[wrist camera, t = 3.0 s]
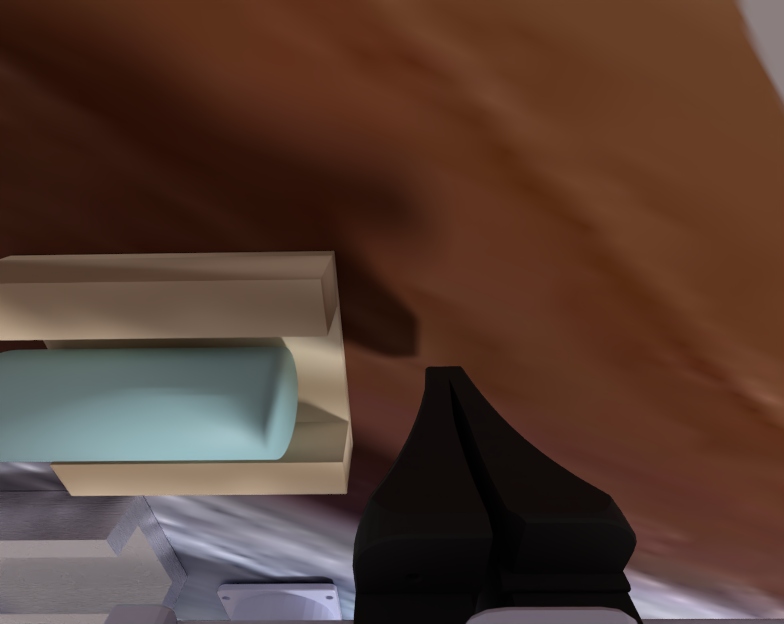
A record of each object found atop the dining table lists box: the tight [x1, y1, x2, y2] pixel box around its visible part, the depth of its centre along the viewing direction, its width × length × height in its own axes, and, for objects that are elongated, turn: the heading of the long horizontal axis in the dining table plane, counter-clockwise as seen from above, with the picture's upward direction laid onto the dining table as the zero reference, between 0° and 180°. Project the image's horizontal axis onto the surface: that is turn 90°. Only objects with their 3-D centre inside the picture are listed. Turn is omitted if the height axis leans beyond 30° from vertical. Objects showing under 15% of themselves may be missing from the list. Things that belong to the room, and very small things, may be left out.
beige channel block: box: [0, 251, 353, 496], centre depth 14 cm, size 10×12×3 cm
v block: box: [0, 491, 188, 624], centre depth 20 cm, size 9×12×3 cm
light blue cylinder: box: [0, 347, 298, 462], centre depth 13 cm, size 10×4×4 cm, turn 91°
